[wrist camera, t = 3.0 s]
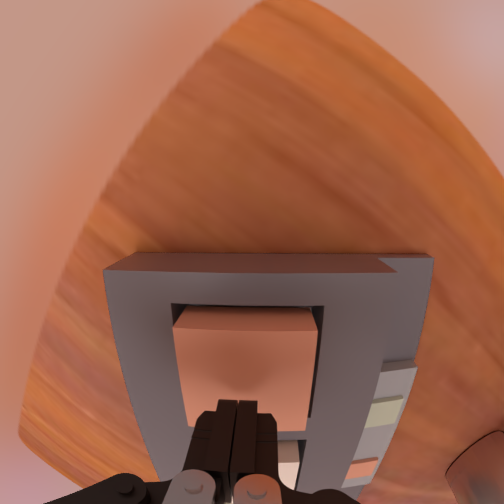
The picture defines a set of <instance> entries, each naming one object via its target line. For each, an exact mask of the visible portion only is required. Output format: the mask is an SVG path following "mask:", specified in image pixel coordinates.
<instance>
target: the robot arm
mask: <svg viewBox="0 0 504 504" xmlns="http://www.w3.org/2000/svg"><path fill="white" fill-rule="evenodd" d="M446 479H447V481H448V483H449V485H450V487H451V489H452V491H453V493H454V495H455V498H456V500H457V502H458V504H504V433H503V432H501V431H497V432H494V433H491V434H489V435H488V436H486V437H484V438H483V439H481V440H480V441H478V442H477V443H475V444H474V445H473V446H471V447H470V448H469V449H468V450H467V451H465V452H464V453H463V454H462V455H461V456H460V457H459V458H458V459H457V460H456V461H455V462H454V463H453V464H452V466H451V467H450V468H449V470H448V471H447V473H446ZM232 497H233V503H234V504H360V503H359V502H357V501H356V500H354V499H353V498H351V497H350V496H348V495H347V494H345V493H343V492H342V491H339V490H336V489H322V490H319V491H316V492H314V493H313V494H310V493H304V492H299V491H295V490H292V489H290V488H288V487H287V486H286V485H284V484H283V483H282V481H281V480H280V477H279V471H278V437H277V422H276V420H275V419H274V417H273V415H272V414H271V413H258V400H239V402H238V400H227V399H219V400H218V403H217V408H216V411H204V412H203V413H202V414H201V415H200V416H199V417H198V418H197V420H196V424H195V427H194V431H193V434H192V439H191V441H190V445H189V448H188V452H187V456H186V459H185V463H184V466H183V469H182V471H181V472H180V473H178V474H177V475H176V476H175V477H174V478H173V479H170V480H167V481H162V482H144V481H143V480H142V479H141V478H139V477H138V476H136V475H133V474H129V473H121V474H117V475H114V476H112V477H110V478H108V479H105V480H103V481H101V482H99V483H96V484H94V485H92V486H89V487H87V488H85V489H82V490H80V491H77V492H75V493H72V494H70V495H67V496H64V497H61V498H59V499H56V500H53V501H50V502H47V503H44V504H224V503H231V502H232Z"/></svg>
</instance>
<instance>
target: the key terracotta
mask: <svg viewBox="0 0 504 504" xmlns="http://www.w3.org/2000/svg"><path fill="white" fill-rule="evenodd" d="M172 328H173V336H174V344H175V351H176V358H177V365H178V371H179V378H180V384H181V390H182V395H183V401H184V406H185V412H186V417H187V422H188V426H191V427H195V424H196V420H197V418H198V417H199V416H200V415H201V414H202V413H203V412H204V411H216V408H217V403H218V400H219V399H227V400H238V402H239V400H258V413H271V414H272V415H273V417H274V419H275V420H276V422H277V431H305V428H306V422H307V416H308V409H309V402H310V395H311V388H312V380H313V372H314V364H315V355H316V345H317V335H318V330H317V327H316V324H315V321H314V318H313V315H312V312H311V309H310V307H295V308H270V307H216V306H190V305H187V306H186V308H185V309H184V311H183V312H182V314H181V315H180V317H179V318H178V320H177V321H176V323H175V324H174V326H173V327H172Z"/></svg>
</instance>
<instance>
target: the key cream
mask: <svg viewBox="0 0 504 504" xmlns="http://www.w3.org/2000/svg"><path fill="white" fill-rule="evenodd" d="M299 463H300V462H299V451H298V440H278V471H279V477H280V480H281V481H282V483H283V484H284V485H286V486H287V487H288V488H290V489H292V490H294V487H295V483H296V478H297V473H298V468H299ZM231 503H232V504H234V503H233V497H232V502H231Z"/></svg>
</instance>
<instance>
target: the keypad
mask: <svg viewBox="0 0 504 504" xmlns="http://www.w3.org/2000/svg"><path fill="white" fill-rule="evenodd" d="M433 265H434V257H432V256H430V255H428V254H301V253H138V252H135V253H134V254H132V255H130V256H128V257H126V258H124V259H122V260H120V261H118V262H116V263H115V264H113V265H111V266H109V267H107V268H105V269H103V275H104V283H105V289H106V296H107V302H108V308H109V314H110V319H111V324H112V329H113V334H114V339H115V343H116V348H117V352H118V356H119V361H120V365H121V369H122V372H123V376H124V380H125V384H126V387H127V391H128V394H129V397H130V401H131V404H132V407H133V410H134V414H135V417H136V420H137V423H138V426H139V428H140V431H141V434H142V437H143V440H144V442H145V445H146V448H147V450H148V453H149V455H150V458H151V460H152V463H153V465H154V468H155V470H156V472H157V475H158V477H159V479H160V482H162V481H167V480H170V479H173V478H174V477H175V476H176V475H177V474H178V473H180V472H181V471H182V469H183V466H184V463H185V459H186V456H187V452H188V448H189V445H190V441H191V439H192V434H193V431H194V427H191V426H188V422H187V417H186V412H185V406H184V401H183V395H182V390H181V384H180V378H179V371H178V365H177V358H176V351H175V344H174V336H173V328H172V327H173V326H174V324H175V323H176V321H177V320H178V318H179V317H180V315H181V314H182V312H183V311H184V309H185V308H186V306H187V305H190V306H216V307H270V308H295V307H310V309H311V312H312V315H313V318H314V321H315V324H316V327H317V330H318V335H317V345H316V355H315V364H314V372H313V380H312V388H311V395H310V402H309V409H308V416H307V422H306V428H305V431H277V437H278V440H298V451H299V462H300V463H299V468H298V473H297V478H296V483H295V487H294V490H295V491H299V492H304V493H310V494H313V493H314V492H316V491H319V490H322V489H336V490H339V491H342V492H343V493H345V494H347V495H348V496H350V497H351V498H353V499H354V500H357V498H358V496H359V494H360V493H361V491H362V489H363V487H364V485H365V484H370V482H371V480H372V478H373V476H374V475H375V473H376V471H377V469H378V467H379V465H380V463H381V461H382V459H383V457H384V454H385V452H386V450H387V448H388V446H389V444H390V441H391V439H392V437H393V434H394V432H395V430H396V427H397V425H398V422H399V420H400V417H401V415H402V412H403V410H404V407H405V404H406V402H407V399H408V396H409V393H410V390H411V387H412V384H413V381H414V378H415V375H416V372H417V368H418V367H417V365H416V364H415V363H414V359H415V355H416V352H417V348H418V344H419V340H420V336H421V331H422V327H423V323H424V318H425V313H426V308H427V303H428V297H429V292H430V286H431V279H432V272H433Z"/></svg>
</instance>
